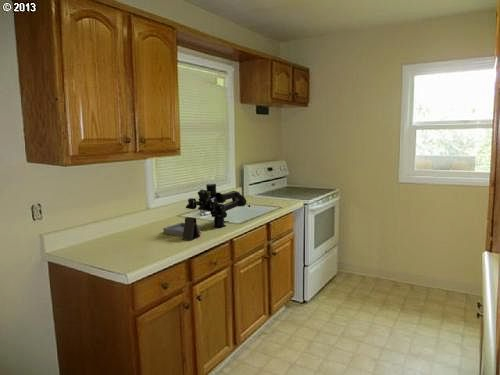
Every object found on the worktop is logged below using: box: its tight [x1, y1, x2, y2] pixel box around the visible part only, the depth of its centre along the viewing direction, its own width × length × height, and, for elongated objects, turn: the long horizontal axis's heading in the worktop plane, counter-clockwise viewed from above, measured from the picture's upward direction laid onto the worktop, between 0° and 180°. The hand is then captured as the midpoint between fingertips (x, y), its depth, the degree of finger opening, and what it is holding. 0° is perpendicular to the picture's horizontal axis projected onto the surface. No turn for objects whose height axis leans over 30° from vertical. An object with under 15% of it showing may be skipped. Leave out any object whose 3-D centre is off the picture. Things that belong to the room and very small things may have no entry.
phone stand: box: [181, 216, 201, 242], centre depth 208 cm, size 9×6×12 cm, turn 152°
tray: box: [162, 222, 202, 237], centre depth 223 cm, size 16×16×3 cm
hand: (192, 208), depth 211 cm, fingers open, 9 cm apart
